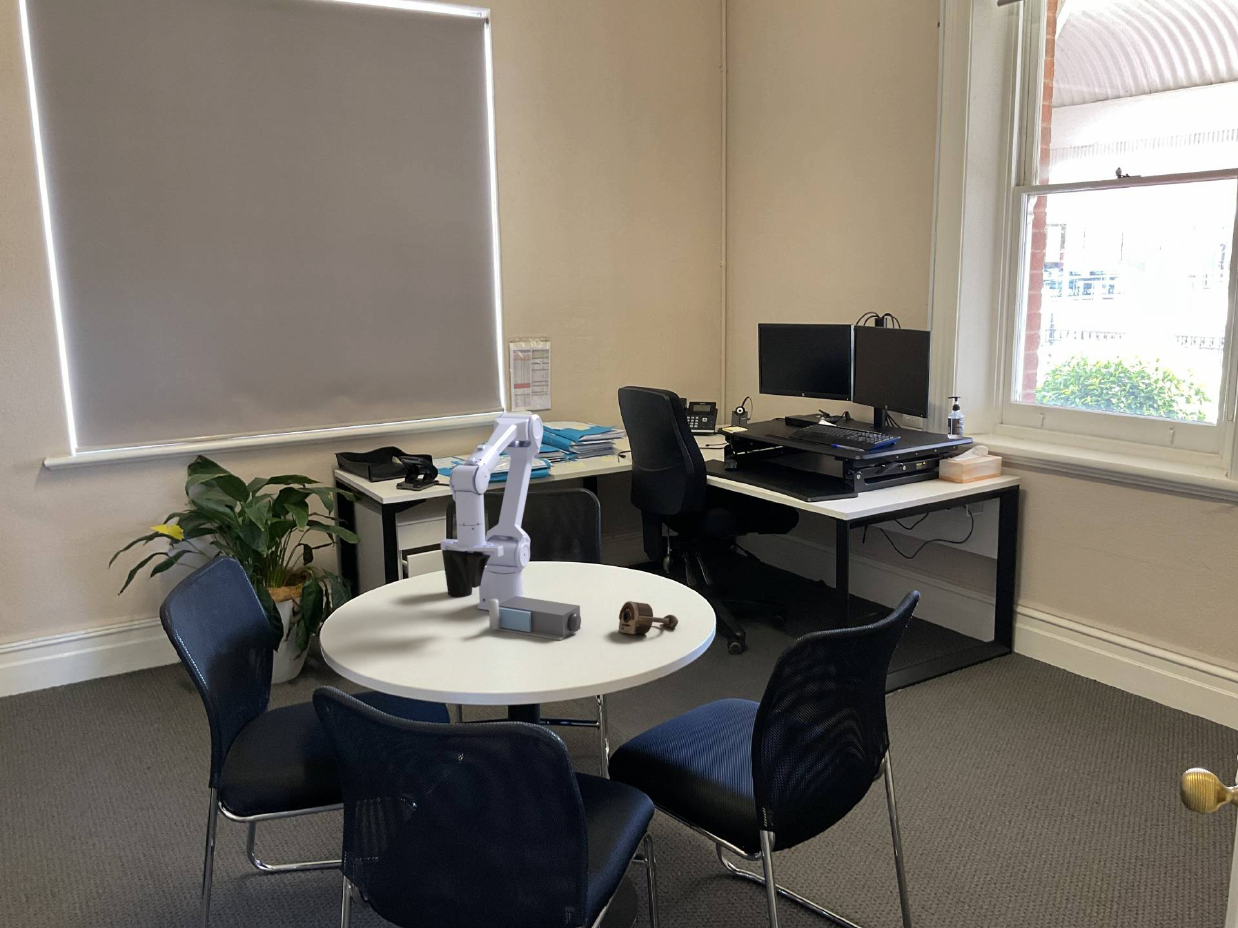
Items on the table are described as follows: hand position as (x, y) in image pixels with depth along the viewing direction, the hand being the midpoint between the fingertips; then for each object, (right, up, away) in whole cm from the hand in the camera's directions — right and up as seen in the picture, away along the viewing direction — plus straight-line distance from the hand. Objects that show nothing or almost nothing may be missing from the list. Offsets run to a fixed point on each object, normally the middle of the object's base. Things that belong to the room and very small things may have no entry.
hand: (473, 586), depth 207 cm
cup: (-7, -5, +27) cm, 28 cm away
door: (+8, -9, -2) cm, 12 cm away
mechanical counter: (+37, -10, -2) cm, 38 cm away
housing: (+14, -9, +2) cm, 16 cm away
